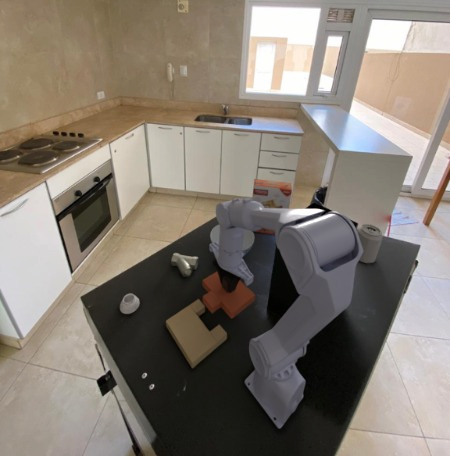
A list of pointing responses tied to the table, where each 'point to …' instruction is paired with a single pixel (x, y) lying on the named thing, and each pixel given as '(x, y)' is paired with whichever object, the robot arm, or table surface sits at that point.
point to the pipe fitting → (184, 263)
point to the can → (369, 242)
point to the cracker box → (271, 196)
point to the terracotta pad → (226, 296)
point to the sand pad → (194, 333)
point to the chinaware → (247, 238)
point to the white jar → (129, 304)
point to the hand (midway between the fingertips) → (228, 286)
